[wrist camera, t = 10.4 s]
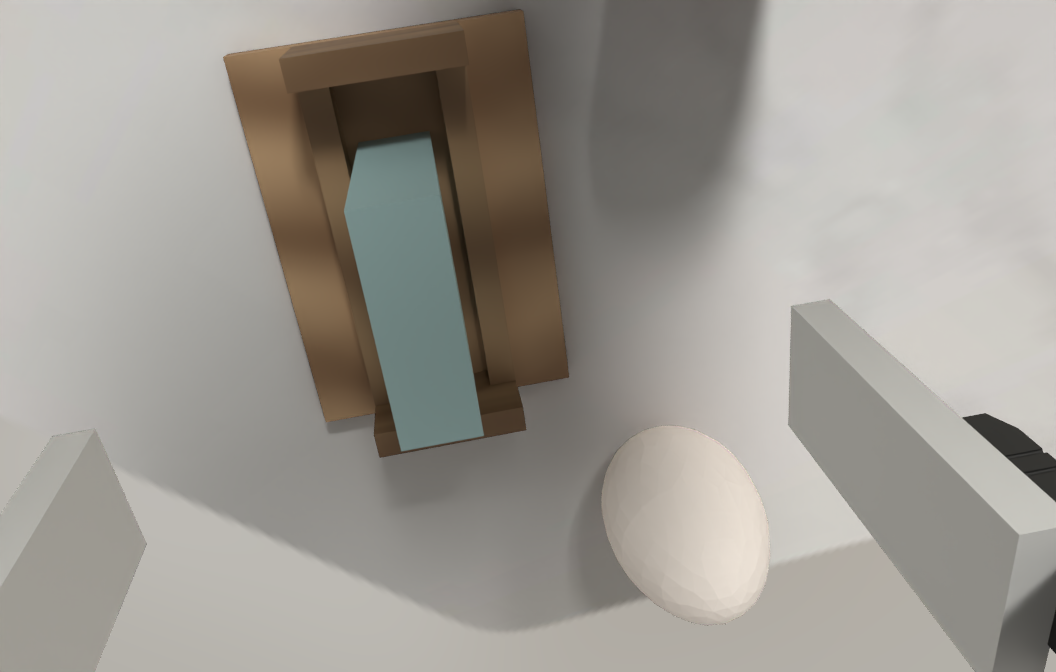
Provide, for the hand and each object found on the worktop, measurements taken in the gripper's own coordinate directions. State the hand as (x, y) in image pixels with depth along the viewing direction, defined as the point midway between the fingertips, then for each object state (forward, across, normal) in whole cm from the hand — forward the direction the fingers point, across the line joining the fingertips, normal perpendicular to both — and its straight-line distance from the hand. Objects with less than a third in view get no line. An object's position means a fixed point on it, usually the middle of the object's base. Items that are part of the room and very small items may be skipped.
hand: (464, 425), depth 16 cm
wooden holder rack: (+23, -1, -4) cm, 23 cm away
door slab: (+22, -1, -4) cm, 22 cm away
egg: (+23, +9, -18) cm, 30 cm away
